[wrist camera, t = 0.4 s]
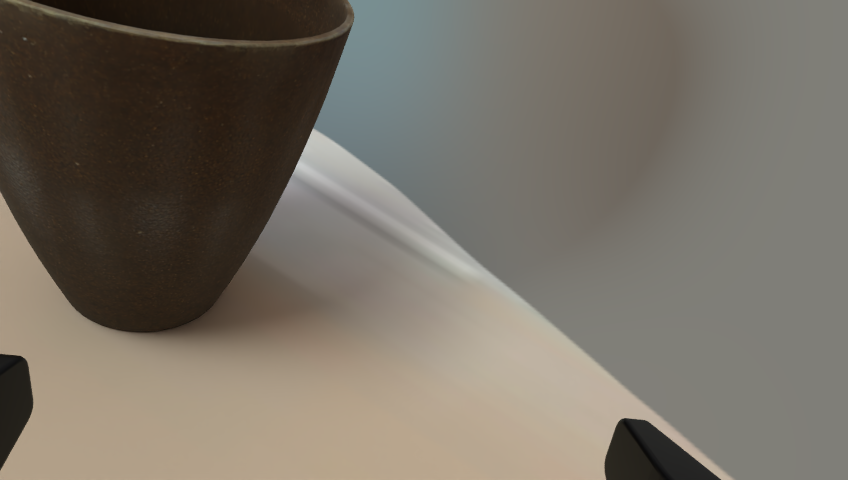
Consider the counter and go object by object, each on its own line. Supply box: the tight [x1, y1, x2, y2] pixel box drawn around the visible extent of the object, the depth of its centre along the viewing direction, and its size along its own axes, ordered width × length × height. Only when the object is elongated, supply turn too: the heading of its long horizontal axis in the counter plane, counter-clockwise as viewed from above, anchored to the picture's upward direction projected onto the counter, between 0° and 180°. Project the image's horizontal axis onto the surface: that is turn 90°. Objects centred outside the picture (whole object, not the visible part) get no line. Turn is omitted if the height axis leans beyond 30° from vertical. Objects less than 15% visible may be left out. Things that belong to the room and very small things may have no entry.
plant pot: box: [0, 0, 354, 332], centre depth 27 cm, size 15×15×16 cm
